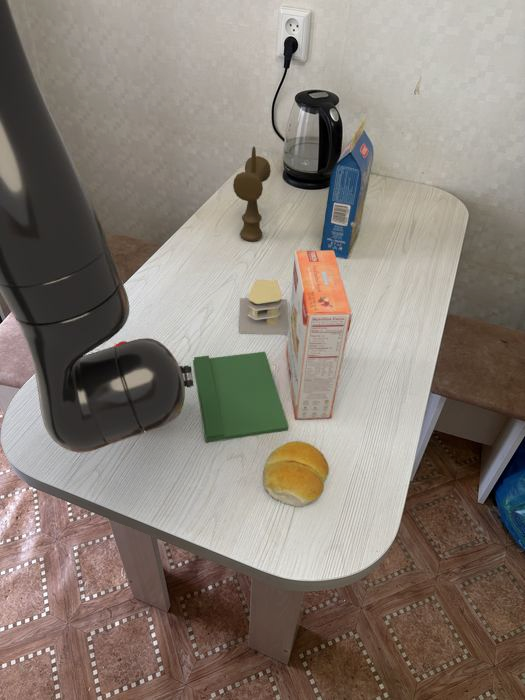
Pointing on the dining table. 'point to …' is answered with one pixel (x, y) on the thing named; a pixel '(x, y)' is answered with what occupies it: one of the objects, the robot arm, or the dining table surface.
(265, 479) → the bread roll
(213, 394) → the green notebook
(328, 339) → the cracker box
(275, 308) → the stacked layers on plate
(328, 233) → the blue food package
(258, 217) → the kendama
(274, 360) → the dining table surface
